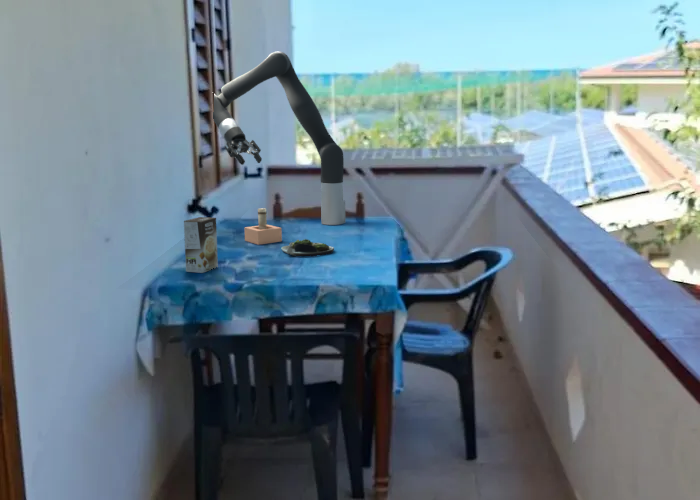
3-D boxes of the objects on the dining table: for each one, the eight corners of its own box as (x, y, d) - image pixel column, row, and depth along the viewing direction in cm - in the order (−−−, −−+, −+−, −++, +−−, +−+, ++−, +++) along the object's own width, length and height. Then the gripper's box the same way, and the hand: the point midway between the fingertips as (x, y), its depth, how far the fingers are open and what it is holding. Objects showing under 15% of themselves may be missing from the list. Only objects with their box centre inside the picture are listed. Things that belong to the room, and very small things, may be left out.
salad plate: (270, 249, 279) (269, 237, 278) (315, 244, 287) (315, 232, 286) (292, 260, 262) (291, 246, 261) (339, 254, 270) (339, 241, 269)
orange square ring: (268, 237, 300) (267, 224, 299) (281, 241, 292) (281, 228, 292) (244, 240, 295) (244, 227, 294) (258, 244, 287) (257, 231, 286)
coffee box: (203, 273, 243) (200, 221, 240) (185, 271, 245) (182, 220, 242) (218, 267, 251) (216, 217, 248) (201, 265, 253) (198, 216, 250)
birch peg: (264, 239, 296) (263, 208, 293) (269, 241, 293) (268, 209, 291) (257, 240, 294) (256, 208, 292) (261, 242, 291) (260, 209, 289)
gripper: (221, 126, 308) (242, 157, 302) (249, 124, 318) (269, 154, 313) (213, 140, 312) (233, 170, 307) (241, 137, 323) (261, 167, 317)
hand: (251, 162), depth 310 cm, fingers open, 8 cm apart
